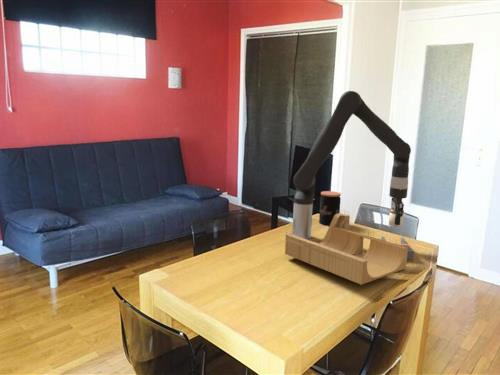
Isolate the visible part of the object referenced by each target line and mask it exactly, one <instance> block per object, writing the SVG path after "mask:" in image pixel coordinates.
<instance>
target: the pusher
mask: <svg viewBox="0 0 500 375" xmlns="http://www.w3.org/2000/svg"><path fill="white" fill-rule="evenodd" d="M393 243H394V244H395V243H396V244H398V245H401V246H404V247H408V250H410V247H411V246H410V244H409V243H408V245H407V244H405V245H404V244H401V242H398V243H397V242H393Z"/></svg>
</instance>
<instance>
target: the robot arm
mask: <svg viewBox="0 0 500 375" xmlns="http://www.w3.org/2000/svg"><path fill="white" fill-rule="evenodd" d="M352 115H354V116H355V117H356V118H358V119H359V120H360V121H361V122H362V123H364V125H365V126H366V127H367V128H368V130H369V131H370V132H371V133H372V134H373V135H374V136H375V138H377V139H378V140H379V141H380V142H381V143H382V144H384V145H385V146H386V147H387V148H388V149H389V150H390V152H391V153H392V154H393V165H392V169H391V178H390V185H389V194H388V196H389V197H390V198H391V202H390V203H391V204H390V209H394V211H395V225H400V218H401V217H402V216H403V217H404V215H403V210H404V206H405V204H404V202H403V199H406V198H408V190H409V189H408V188H409V173H410V172H409V170H410V166H409V164H410V156H411V152H412V149H411V146H410V144H409V143H408V142H406V141H405V140H403V139H402V137H400V136H399V135H398V134H397V132H395V130H393V128H392V127H391V126H390V125H388V124H387V123H386V122H385V121H384V120H383V119H382V118H380V117H379V116H378V115H377V114H376V113H375V112H373V110H372V109H371V108H370V107H369V106H368V105H367V104H366V103H365V101H364V99H363V98H362V97H361V95H360V94H359V92H357V91H353V90H347V91H345V92H344V93H342V95H341V96H340V97H339V100H338V103H337V104H336V107H335V108H334V110H333V113H332V115H331V117H330V118H329V119H328V120H327V122H326V123H325V125H324V126H323V127H322V130H321V131H320V133H319V134H318V136H317V138H316V139H315V141H314V143H313V145H312V147H311V149H310V150H309V153H308V155H307V158H306V159H305V161H304V162H303V163H302V165H301V167H299V169H298V171H297V172H296V173H295V175H294V176H293V186H294V187H295V194H294V197H293V209H292V210H293V213H292V215H293V216H292V231H291V234H293V235H296V236H298V237H299V236H300V237H301V238H304V237H305V239H307V240H310V239H312V238H311V237H312V226H313V220H312V219H313V208H314V207H313V206H314V197H315V191H316V190H315V189H316V175H317V172H318V171H319V169H320V168H321V166H322V165H323V164H324V163H325V161H326V160H327V159H328V158H329V157H330V156H331V154H332V153H333V151H334V149H336V146H337V145H338V143H339V141H340V138H341V137H342V134H343V132H344V129H345V128H346V125H347V124H348V121H349V120H350V118H351V117H352ZM396 209H397V210H396ZM398 212H400V214H398Z"/></svg>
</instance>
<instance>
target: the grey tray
mask: <svg viewBox="0 0 500 375" xmlns="http://www.w3.org/2000/svg"><path fill="white" fill-rule="evenodd" d="M381 240H384V241H387V239H386V237H385V238H384V236H381ZM402 241H403V242H402ZM400 243H402V244H406V243H408V242H407V240H406V239H405V238H404V237H400ZM414 256H415V251H414V249H413V248H412V247H411V246H410V250H408V253H407V262H408V261H410V262H413V261H414Z"/></svg>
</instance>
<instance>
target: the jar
mask: <svg viewBox="0 0 500 375" xmlns="http://www.w3.org/2000/svg"><path fill="white" fill-rule="evenodd" d="M396 210H397V209H396ZM398 214H400V212H398ZM404 215H405V210H404V209H403V216H402V217H401V218H400V225H395V211H394V209H391V208H390V209H389V215H388V216H389V217H388V226H389V227H394V228H401V227H403V223H404Z"/></svg>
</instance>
